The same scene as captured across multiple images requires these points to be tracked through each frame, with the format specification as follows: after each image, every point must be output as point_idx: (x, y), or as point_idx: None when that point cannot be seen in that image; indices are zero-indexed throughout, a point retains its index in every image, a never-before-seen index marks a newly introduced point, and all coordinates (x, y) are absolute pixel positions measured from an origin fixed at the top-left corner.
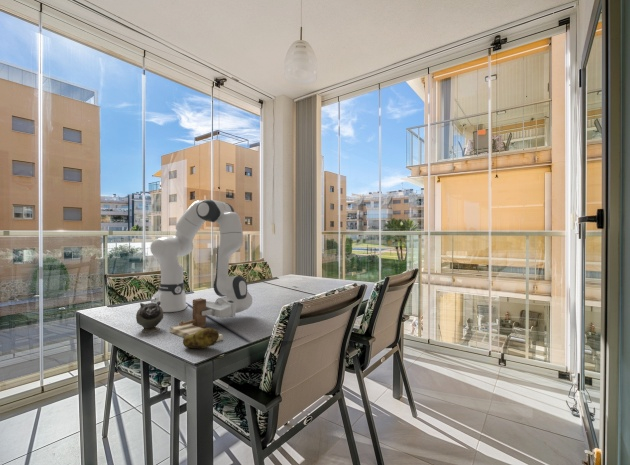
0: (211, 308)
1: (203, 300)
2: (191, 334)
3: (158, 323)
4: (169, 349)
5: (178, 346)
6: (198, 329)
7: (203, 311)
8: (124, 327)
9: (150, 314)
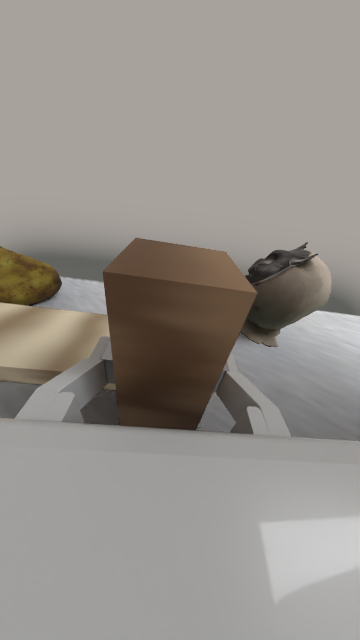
0: (44, 421)
1: (117, 260)
2: (21, 256)
3: (252, 317)
4: (92, 285)
5: (84, 295)
6: (90, 352)
7: (99, 340)
8: (310, 317)
9: (248, 269)
